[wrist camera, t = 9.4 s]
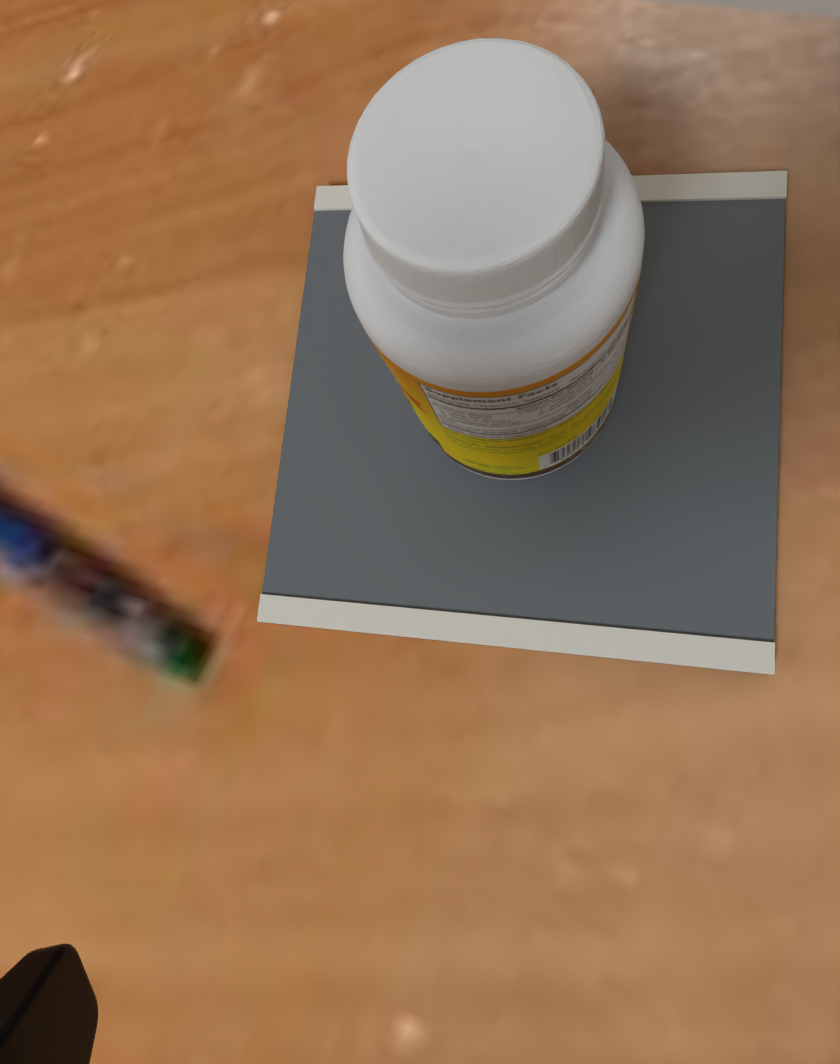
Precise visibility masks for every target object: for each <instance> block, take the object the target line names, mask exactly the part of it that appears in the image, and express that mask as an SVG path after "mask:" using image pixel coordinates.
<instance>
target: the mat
mask: <svg viewBox="0 0 840 1064" xmlns="http://www.w3.org/2000/svg"><path fill="white" fill-rule="evenodd" d="M632 178H633V180H634V182H635V184H636V186H637V189H638V192H639V195H640V200H641V205H642V209H643V217H644V229H645V239H644V250H643V259H642V268H641V274H640V279H639V284H638V289H637V294H636V299H635V304H634V309H633V314H632V319H631V323H630V328H629V332H628V337H627V342H626V347H625V352H624V357H623V361H622V366H621V371H620V376H619V380H618V385H617V389H616V394H615V399H614V402H613V405H612V408H611V411H610V414H609V416H608V419H607V421H606V423H605V425H604V426H603V428H602V430H601V432H600V433H599V435H598V436H597V438H596V439H595V440H594V441H593V443H592V444H591V445H590V446H589V447H588V448H587V449H586V450H585V451H584V452H583V453H582V454H581V455H580V456H578V457H577V458H576V459H574V460H573V461H572V462H570V463H568V464H567V465H565V466H563V467H562V468H560V469H558V470H556V471H553V472H551V473H548V474H546V475H542V476H539V477H534V478H530V479H522V480H501V479H495V478H490V477H485V476H482V475H479V474H476V473H474V472H471V471H469V470H467V469H465V468H464V467H462V466H460V465H459V464H457V463H456V462H454V461H453V460H451V459H450V458H449V457H448V456H447V455H446V454H445V453H444V452H443V451H442V450H441V449H440V448H439V447H438V446H437V445H436V443H435V442H434V440H433V439H432V437H431V436H430V435H429V433H428V432H427V431H426V429H425V427H424V425H423V424H422V422H421V420H420V419H419V417H418V416H417V414H416V412H415V411H414V409H413V407H412V406H411V404H410V403H409V401H408V400H407V398H406V396H405V394H404V393H403V392H402V389H401V388H400V386H399V384H398V383H397V381H396V380H395V378H394V377H393V375H392V374H391V372H390V370H389V369H388V367H387V365H386V364H385V362H384V361H383V360H382V358H381V356H380V354H379V353H378V351H377V349H376V348H375V346H374V345H373V343H372V342H371V340H370V338H369V337H368V335H367V334H366V332H365V330H364V328H363V326H362V324H361V322H360V320H359V319H358V316H357V314H356V312H355V310H354V308H353V305H352V303H351V300H350V297H349V294H348V290H347V286H346V281H345V275H344V264H343V251H344V240H345V233H346V228H347V224H348V219H349V216H350V213H351V210H352V207H353V206H352V203H351V199H350V194H349V190H348V185H339V186H317V189H316V196H315V204H314V210H315V213H314V220H313V228H312V235H311V242H310V249H309V257H308V264H307V271H306V278H305V286H304V293H303V300H302V307H301V315H300V322H299V329H298V336H297V344H296V351H295V358H294V365H293V373H292V380H291V387H290V394H289V402H288V409H287V416H286V423H285V431H284V438H283V445H282V452H281V460H280V467H279V474H278V481H277V489H276V496H275V503H274V510H273V517H272V525H271V532H270V539H269V546H268V554H267V561H266V568H265V575H264V583H263V590H262V594H260V601H259V609H258V616H257V621H258V622H266V623H276V624H286V625H295V626H305V627H315V628H324V629H334V630H344V631H353V632H363V633H373V634H382V635H392V636H402V637H411V638H421V639H431V640H440V641H450V642H460V643H469V644H479V645H489V646H498V647H508V648H518V649H528V650H537V651H547V652H557V653H566V654H576V655H586V656H595V657H605V658H615V659H624V660H634V661H644V662H653V663H663V664H673V665H682V666H692V667H702V668H711V669H721V670H731V671H740V672H750V673H760V674H770V675H774V669H775V643H774V625H775V586H776V548H777V509H778V470H779V432H780V393H781V354H782V316H783V277H784V239H785V200H786V197H787V171H760V172H729V173H699V174H669V175H639V176H632Z"/></svg>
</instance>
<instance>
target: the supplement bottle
mask: <svg viewBox="0 0 840 1064" xmlns="http://www.w3.org/2000/svg"><path fill="white" fill-rule="evenodd" d="M347 182H348V190H349V194H350V199H351V203H352V206H353V207H352V210H351V213H350V216H349V219H348V224H347V228H346V233H345V240H344V251H343V264H344V275H345V281H346V286H347V290H348V294H349V297H350V300H351V303H352V305H353V308H354V310H355V312H356V314H357V316H358V319H359V320H360V322H361V324H362V326H363V328H364V330H365V332H366V334H367V335H368V337H369V338H370V340H371V342H372V343H373V345H374V346H375V348H376V349H377V351H378V353H379V354H380V356H381V358H382V360H383V361H384V362H385V364H386V365H387V367H388V369H389V370H390V372H391V374H392V375H393V377H394V378H395V380H396V381H397V383H398V384H399V386H400V388H401V389H402V392H403V393H404V394H405V396H406V398H407V400H408V401H409V403H410V404H411V406H412V407H413V409H414V411H415V412H416V414H417V416H418V417H419V419H420V420H421V422H422V424H423V425H424V427H425V429H426V431H427V432H428V433H429V435H430V436H431V437H432V439H433V440H434V442H435V443H436V445H437V446H438V447H439V448H440V449H441V450H442V451H443V452H444V453H445V454H446V455H447V456H448V457H449V458H450V459H451V460H453V461H454V462H456V463H457V464H459V465H460V466H462V467H464V468H465V469H467V470H469V471H471V472H474V473H476V474H479V475H482V476H485V477H490V478H495V479H501V480H522V479H530V478H534V477H539V476H542V475H546V474H548V473H551V472H553V471H556V470H558V469H560V468H562V467H563V466H565V465H567V464H568V463H570V462H572V461H573V460H574V459H576V458H577V457H578V456H580V455H581V454H582V453H583V452H584V451H585V450H586V449H587V448H588V447H589V446H590V445H591V444H592V443H593V441H594V440H595V439H596V438H597V436H598V435H599V433H600V432H601V430H602V428H603V426H604V425H605V423H606V421H607V419H608V416H609V414H610V411H611V408H612V405H613V402H614V399H615V394H616V389H617V385H618V380H619V376H620V371H621V366H622V361H623V357H624V352H625V347H626V342H627V337H628V332H629V328H630V323H631V319H632V314H633V309H634V304H635V299H636V294H637V289H638V284H639V279H640V274H641V268H642V259H643V250H644V239H645V229H644V217H643V209H642V205H641V200H640V195H639V192H638V189H637V186H636V184H635V182H634V180H633V178H632V175H631V173H630V171H629V169H628V168H627V166H626V164H625V163H624V161H623V160H622V158H621V157H620V156H619V154H618V153H617V152H616V150H615V149H614V148H613V147H612V146H611V145H610V143H609V142H608V141H607V140H606V139H605V130H604V123H603V119H602V115H601V111H600V108H599V106H598V103H597V101H596V99H595V97H594V95H593V93H592V91H591V89H590V88H589V86H588V84H587V83H586V81H585V80H584V79H583V78H582V77H581V75H580V74H579V73H578V72H577V71H576V70H575V69H574V68H573V67H571V66H570V65H569V64H568V63H567V62H565V61H564V60H562V59H561V58H559V57H558V56H556V55H555V54H553V53H552V52H550V51H548V50H546V49H544V48H541V47H539V46H536V45H533V44H529V43H526V42H524V41H518V40H511V39H502V38H481V39H472V40H467V41H461V42H458V43H454V44H451V45H447V46H444V47H441V48H439V49H436V50H434V51H431V52H429V53H427V54H425V55H423V56H421V57H419V58H418V59H416V60H414V61H413V62H411V63H410V64H408V65H407V66H405V67H404V68H403V69H401V70H400V71H399V72H397V73H396V74H395V75H394V76H393V77H392V78H391V79H390V80H388V81H387V82H386V84H385V85H384V86H383V87H382V88H381V89H380V90H379V91H378V92H377V93H376V94H375V95H374V97H373V98H372V100H371V101H370V103H369V104H368V105H367V107H366V109H365V110H364V112H363V114H362V116H361V117H360V119H359V121H358V123H357V126H356V129H355V131H354V134H353V137H352V140H351V143H350V147H349V153H348V159H347Z"/></svg>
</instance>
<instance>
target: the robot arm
mask: <svg viewBox="0 0 840 1064" xmlns="http://www.w3.org/2000/svg"><path fill="white" fill-rule="evenodd" d="M97 1022H98V1005H97V1000H96V996H95V994H94V991H93V989H92V986H91V984H90V981H89V979H88V977H87V974H86V972H85V969H84V967H83V964H82V962H81V959H80V957H79V954H78V952H77V951H76V949H75V948H74V947H73V946H72V945H70V944H59V945H55V946H50V947H45V948H40V949H36V950H34V951H31V952H30V953H28V954H27V955H26V956H24V957H23V958H22V959H21V960H20V961H19V962H18V963H17V964H16V965H15V966H14V967H13V968H12V969H10V970H9V971H8V972H7V973H6V974H5V975H4V976H3V977H2V978H1V979H0V1064H89V1063H90V1058H91V1053H92V1048H93V1043H94V1038H95V1033H96V1028H97Z"/></svg>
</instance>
